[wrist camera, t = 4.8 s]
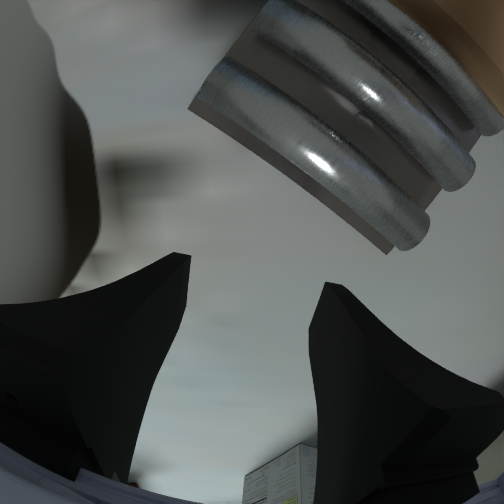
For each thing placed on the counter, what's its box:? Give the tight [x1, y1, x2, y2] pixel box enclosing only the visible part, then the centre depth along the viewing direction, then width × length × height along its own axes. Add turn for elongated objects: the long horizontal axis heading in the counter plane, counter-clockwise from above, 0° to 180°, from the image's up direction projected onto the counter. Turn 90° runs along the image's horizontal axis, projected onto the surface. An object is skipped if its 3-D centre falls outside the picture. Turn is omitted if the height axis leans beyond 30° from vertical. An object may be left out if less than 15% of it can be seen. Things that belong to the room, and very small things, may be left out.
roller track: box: [188, 0, 504, 255], centre depth 10 cm, size 13×24×3 cm, turn 145°
